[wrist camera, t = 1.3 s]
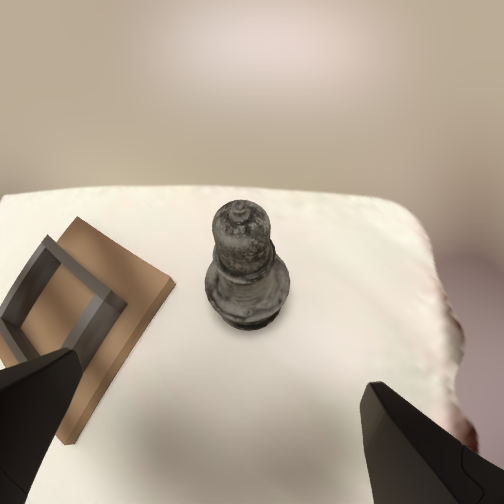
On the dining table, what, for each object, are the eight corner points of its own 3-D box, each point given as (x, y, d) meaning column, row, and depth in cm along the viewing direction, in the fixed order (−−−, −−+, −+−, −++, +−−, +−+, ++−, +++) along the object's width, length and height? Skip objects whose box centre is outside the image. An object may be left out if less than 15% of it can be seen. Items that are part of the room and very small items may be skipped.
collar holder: (74, 444, 15) (42, 446, 12) (2, 349, 19) (-26, 337, 15) (175, 284, 23) (158, 259, 19) (83, 223, 27) (64, 198, 23)
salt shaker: (233, 347, 20) (202, 289, 10) (201, 285, 23) (155, 185, 12) (299, 311, 22) (335, 222, 11) (262, 254, 24) (263, 142, 14)
